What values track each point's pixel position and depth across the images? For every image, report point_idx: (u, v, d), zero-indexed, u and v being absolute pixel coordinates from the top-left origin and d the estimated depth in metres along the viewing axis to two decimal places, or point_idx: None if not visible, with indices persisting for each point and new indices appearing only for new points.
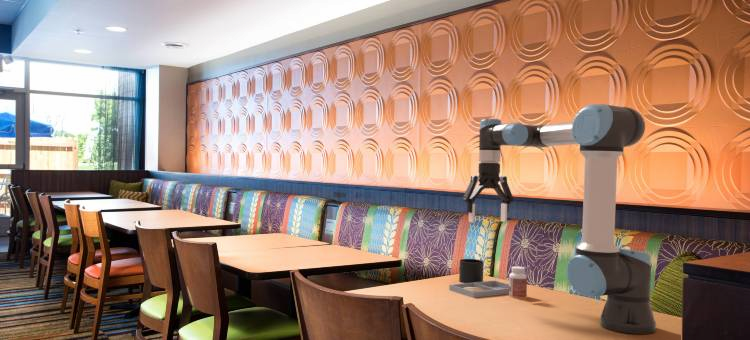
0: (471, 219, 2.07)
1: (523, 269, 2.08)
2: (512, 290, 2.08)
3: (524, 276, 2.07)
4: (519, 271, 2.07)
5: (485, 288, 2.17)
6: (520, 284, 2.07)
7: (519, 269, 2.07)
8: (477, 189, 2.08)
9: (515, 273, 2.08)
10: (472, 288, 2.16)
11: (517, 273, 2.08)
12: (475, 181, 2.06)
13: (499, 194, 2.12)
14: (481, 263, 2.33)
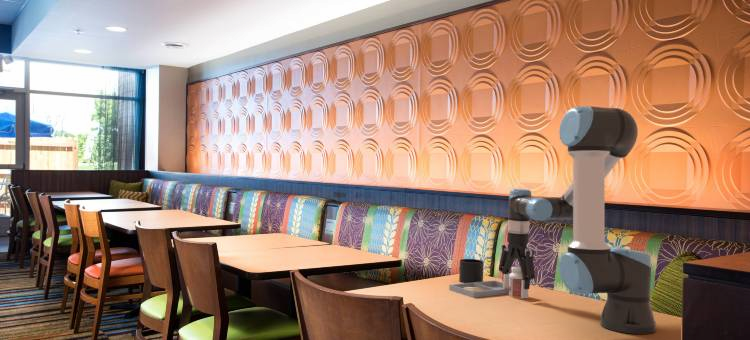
0: None
1: None
2: (512, 290, 2.08)
3: None
4: (519, 271, 2.07)
5: (485, 288, 2.17)
6: (520, 284, 2.07)
7: (519, 269, 2.07)
8: None
9: (515, 273, 2.08)
10: (472, 288, 2.16)
11: (517, 273, 2.08)
12: (503, 250, 2.15)
13: None
14: (481, 263, 2.33)
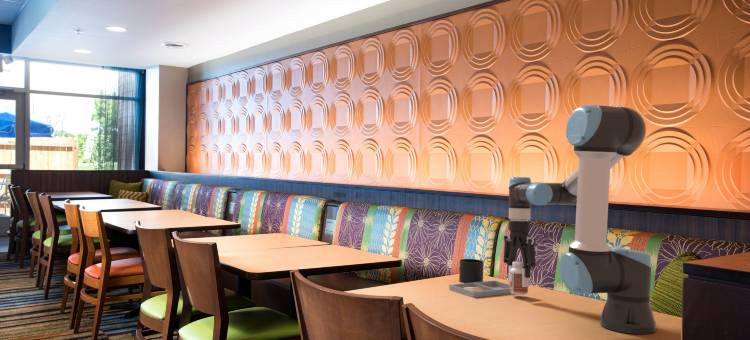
0: None
1: None
2: (514, 285, 2.07)
3: None
4: (520, 266, 2.07)
5: (485, 288, 2.17)
6: (521, 279, 2.06)
7: (520, 264, 2.07)
8: None
9: (516, 268, 2.08)
10: (472, 288, 2.16)
11: (518, 268, 2.07)
12: (505, 241, 2.14)
13: None
14: (481, 263, 2.33)
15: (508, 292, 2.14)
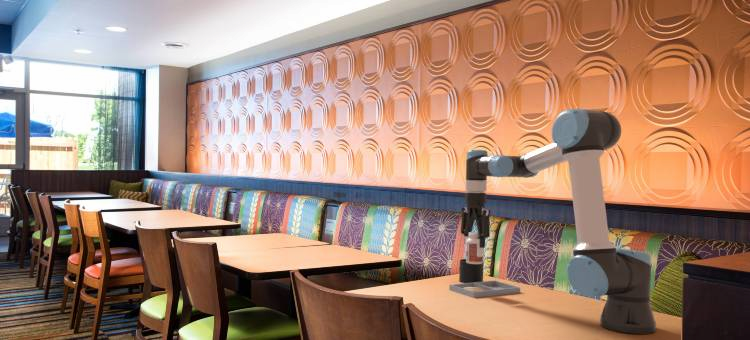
0: None
1: None
2: (469, 255, 2.13)
3: None
4: (475, 236, 2.13)
5: (485, 288, 2.17)
6: (476, 249, 2.12)
7: (475, 234, 2.13)
8: None
9: (472, 238, 2.13)
10: (472, 288, 2.16)
11: (473, 238, 2.13)
12: (462, 212, 2.19)
13: None
14: None
15: (508, 292, 2.14)
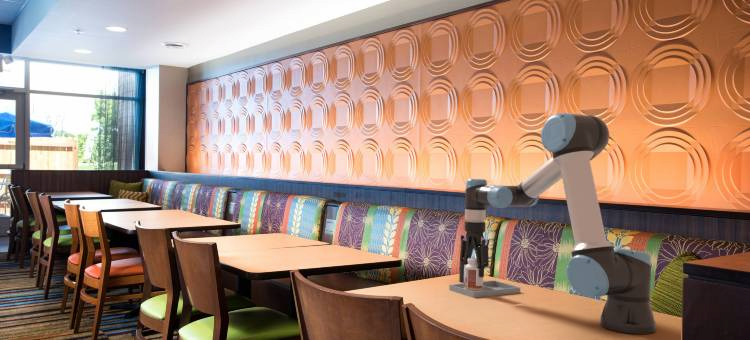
0: None
1: None
2: (468, 281, 2.13)
3: None
4: (474, 262, 2.13)
5: (485, 288, 2.17)
6: (475, 275, 2.12)
7: (474, 260, 2.13)
8: None
9: (471, 264, 2.14)
10: None
11: (472, 264, 2.13)
12: (462, 240, 2.20)
13: None
14: None
15: (508, 292, 2.14)
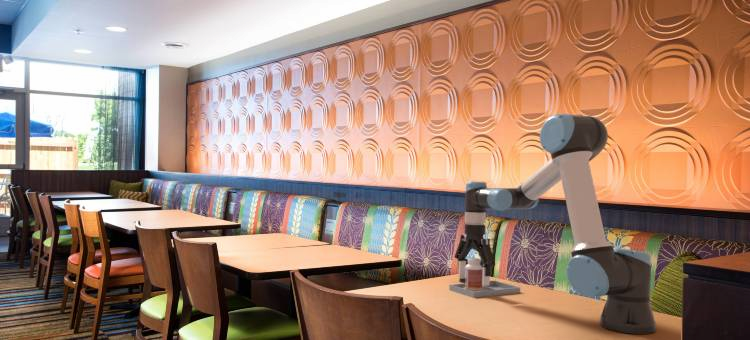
0: None
1: (478, 260, 2.14)
2: (468, 281, 2.13)
3: (479, 267, 2.13)
4: (474, 262, 2.13)
5: (485, 288, 2.17)
6: (475, 275, 2.12)
7: (474, 260, 2.13)
8: None
9: (471, 264, 2.14)
10: None
11: (472, 264, 2.13)
12: (461, 240, 2.20)
13: None
14: (481, 263, 2.33)
15: (508, 292, 2.14)
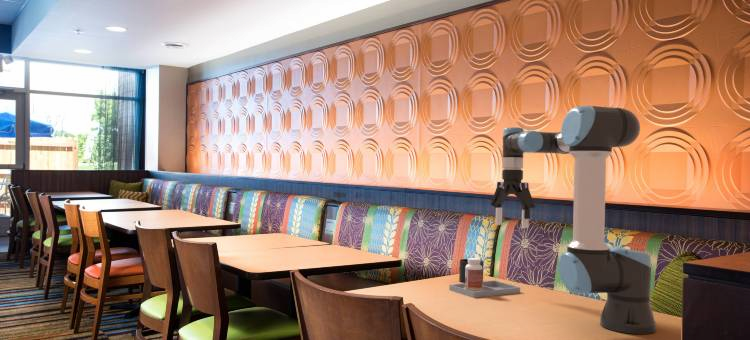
0: None
1: (478, 260, 2.14)
2: (468, 281, 2.13)
3: (479, 267, 2.13)
4: (474, 262, 2.13)
5: (485, 288, 2.17)
6: (475, 275, 2.12)
7: (474, 260, 2.13)
8: None
9: (471, 264, 2.14)
10: None
11: (472, 264, 2.13)
12: (497, 187, 2.23)
13: None
14: (481, 263, 2.33)
15: (508, 292, 2.14)
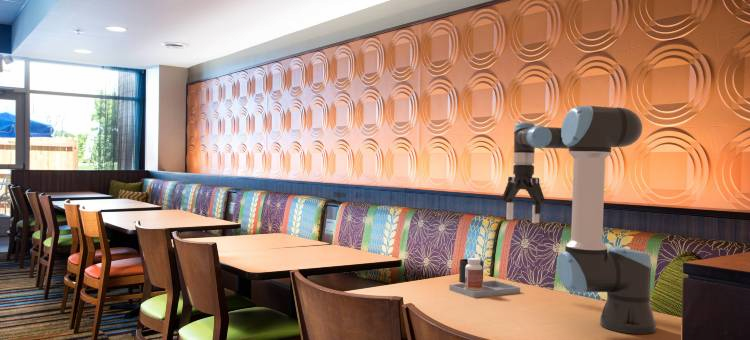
0: None
1: (478, 260, 2.14)
2: (468, 281, 2.13)
3: (479, 267, 2.13)
4: (474, 262, 2.13)
5: (485, 288, 2.17)
6: (475, 275, 2.12)
7: (474, 260, 2.13)
8: None
9: (471, 264, 2.14)
10: None
11: (472, 264, 2.13)
12: (509, 182, 2.25)
13: None
14: (481, 263, 2.33)
15: (508, 292, 2.14)
